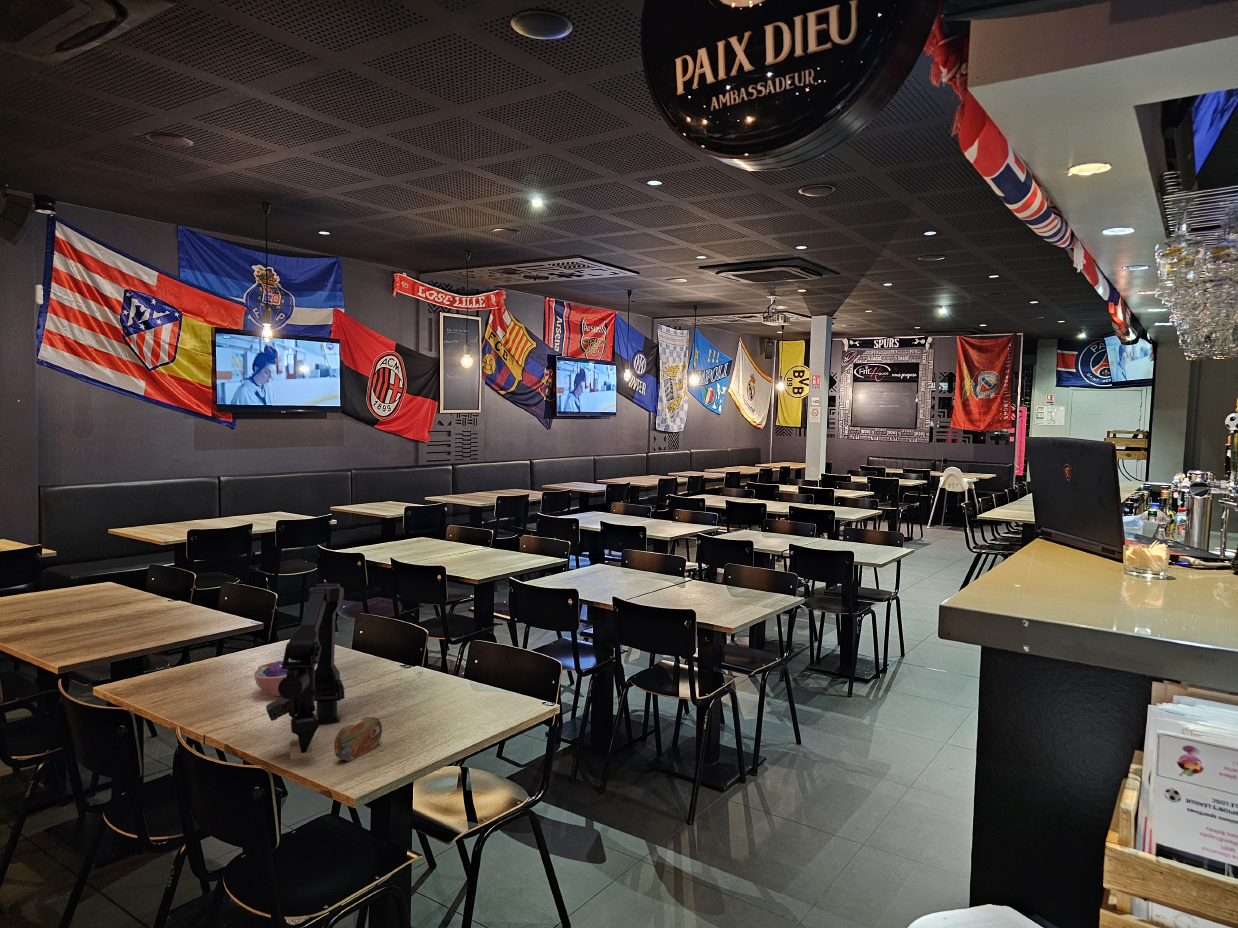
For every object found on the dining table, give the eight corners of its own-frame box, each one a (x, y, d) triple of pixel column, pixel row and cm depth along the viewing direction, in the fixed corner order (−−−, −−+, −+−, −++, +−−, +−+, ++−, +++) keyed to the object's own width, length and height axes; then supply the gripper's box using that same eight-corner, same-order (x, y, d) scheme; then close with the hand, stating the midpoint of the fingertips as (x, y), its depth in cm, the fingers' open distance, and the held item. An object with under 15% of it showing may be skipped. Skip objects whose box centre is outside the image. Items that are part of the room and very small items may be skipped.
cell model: (324, 684, 246) (324, 650, 246) (292, 705, 226) (292, 668, 226) (276, 682, 248) (276, 648, 248) (240, 702, 228) (240, 666, 228)
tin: (341, 766, 185) (341, 732, 184) (331, 763, 186) (332, 730, 186) (382, 744, 198) (383, 713, 198) (373, 742, 200) (373, 711, 199)
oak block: (289, 752, 192) (289, 740, 192) (310, 749, 194) (310, 737, 194) (290, 760, 188) (290, 747, 188) (312, 756, 190) (312, 744, 190)
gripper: (267, 679, 196) (266, 738, 196) (269, 701, 179) (269, 765, 180) (312, 674, 201) (312, 731, 201) (318, 695, 184) (318, 757, 185)
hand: (302, 745), depth 192 cm, fingers open, 9 cm apart
